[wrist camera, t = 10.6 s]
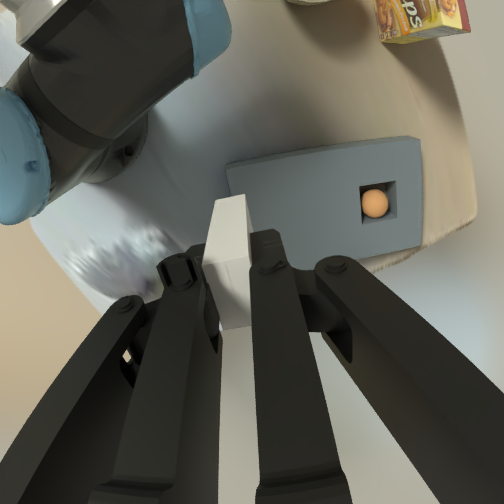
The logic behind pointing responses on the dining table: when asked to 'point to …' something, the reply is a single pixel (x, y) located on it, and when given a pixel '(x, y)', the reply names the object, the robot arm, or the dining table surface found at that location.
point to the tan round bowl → (308, 2)
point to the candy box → (420, 19)
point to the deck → (334, 198)
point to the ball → (374, 203)
